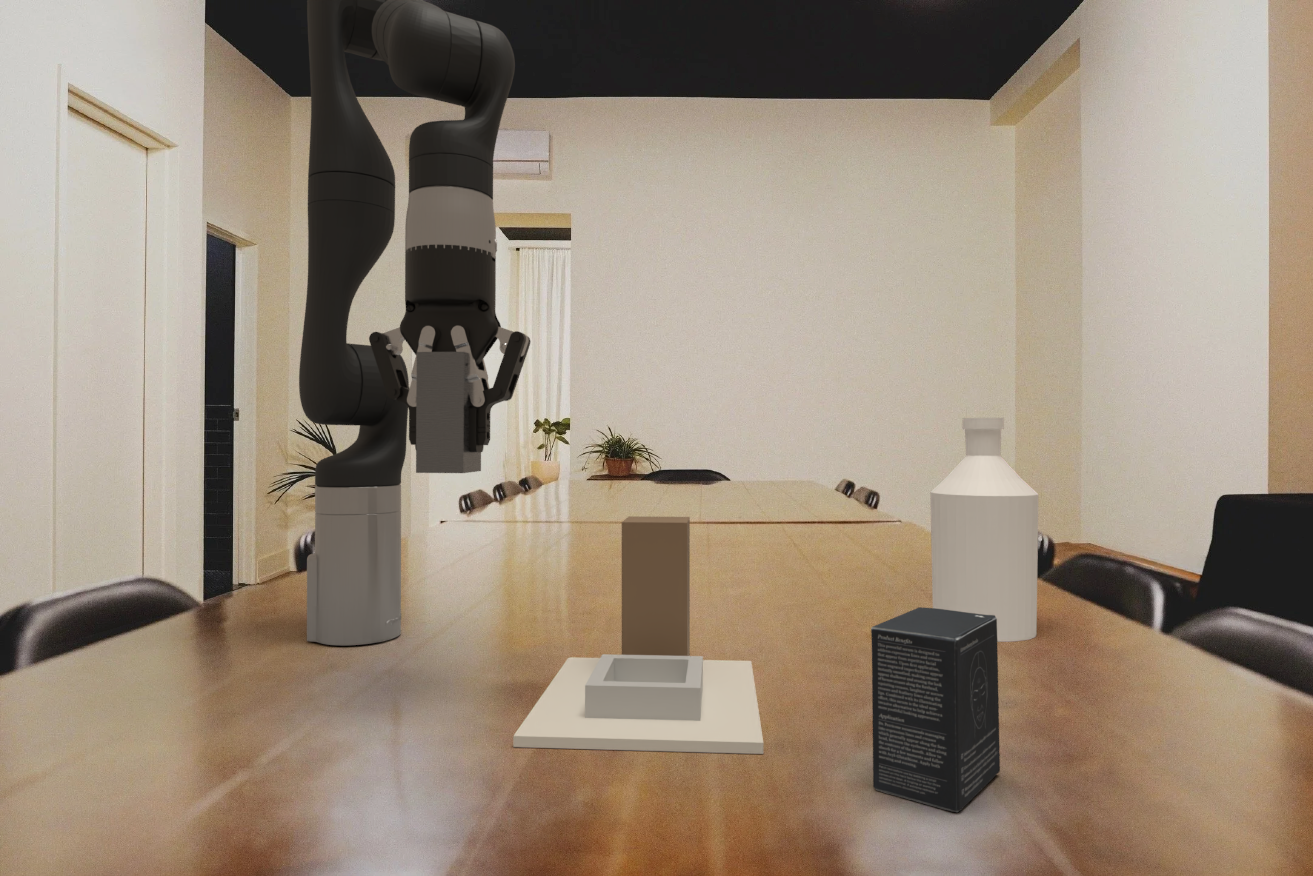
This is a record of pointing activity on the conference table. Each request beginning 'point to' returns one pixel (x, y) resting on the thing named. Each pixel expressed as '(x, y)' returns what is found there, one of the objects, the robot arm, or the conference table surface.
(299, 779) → the conference table surface
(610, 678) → the post base
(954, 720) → the box
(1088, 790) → the conference table surface
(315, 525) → the robot arm
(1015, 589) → the bottle
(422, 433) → the tall grey pillar block
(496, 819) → the conference table surface
